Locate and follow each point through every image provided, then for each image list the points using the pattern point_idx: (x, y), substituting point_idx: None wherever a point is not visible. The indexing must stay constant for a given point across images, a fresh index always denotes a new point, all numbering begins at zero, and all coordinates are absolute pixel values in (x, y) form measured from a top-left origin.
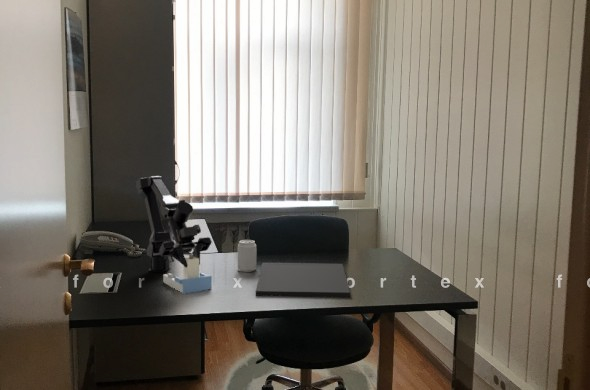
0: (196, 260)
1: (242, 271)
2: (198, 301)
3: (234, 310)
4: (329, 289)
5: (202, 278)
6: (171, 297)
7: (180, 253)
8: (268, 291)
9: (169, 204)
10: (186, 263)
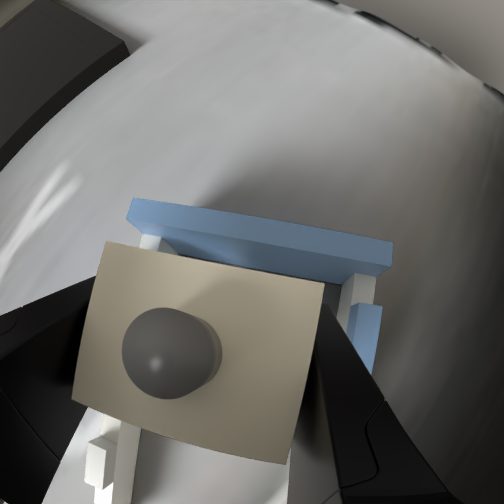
0: (157, 255)
1: None
2: (360, 118)
3: (301, 2)
4: (31, 15)
5: (211, 214)
6: (442, 262)
7: (408, 482)
8: (104, 30)
9: None
10: (320, 319)
